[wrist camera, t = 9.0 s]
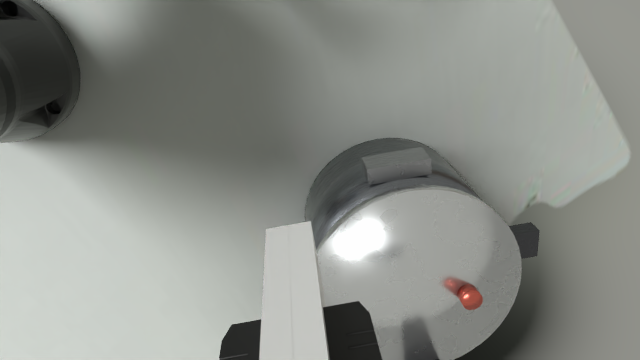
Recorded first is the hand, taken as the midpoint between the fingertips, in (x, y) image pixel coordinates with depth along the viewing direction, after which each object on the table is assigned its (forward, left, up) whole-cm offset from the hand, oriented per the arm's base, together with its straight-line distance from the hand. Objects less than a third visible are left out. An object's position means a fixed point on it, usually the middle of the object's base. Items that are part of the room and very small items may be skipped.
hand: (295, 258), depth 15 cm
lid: (+9, -24, -21) cm, 33 cm away
